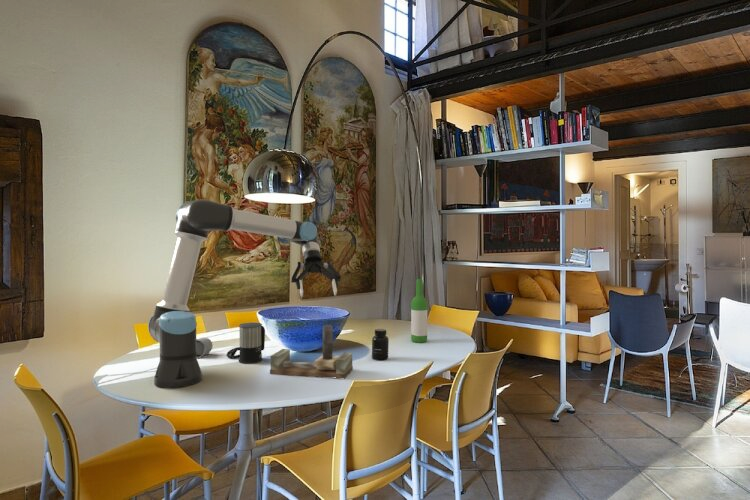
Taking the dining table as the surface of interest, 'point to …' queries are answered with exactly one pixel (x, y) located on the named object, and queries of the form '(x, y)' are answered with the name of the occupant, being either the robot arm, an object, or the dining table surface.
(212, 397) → the dining table surface
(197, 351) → the ceramic mug
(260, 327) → the milk frother
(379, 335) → the supplement bottle
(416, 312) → the wine bottle
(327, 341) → the carriage
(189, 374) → the robot arm
